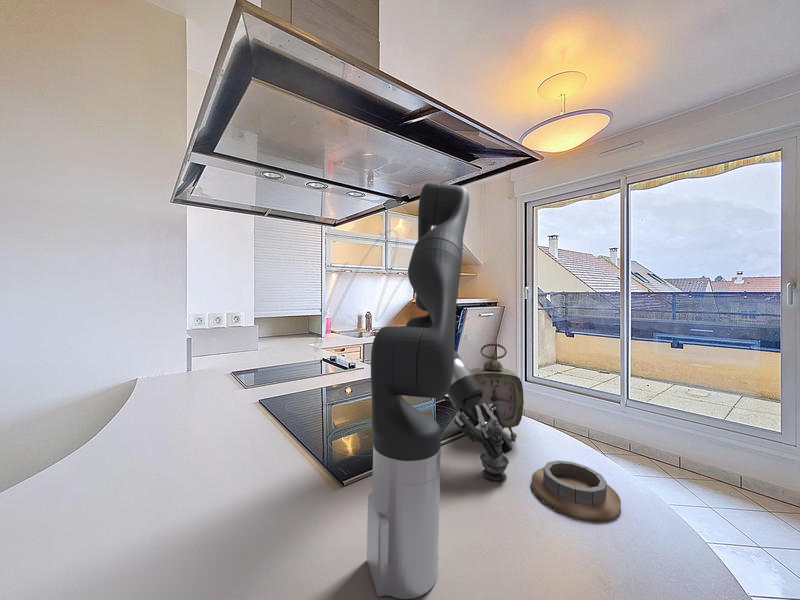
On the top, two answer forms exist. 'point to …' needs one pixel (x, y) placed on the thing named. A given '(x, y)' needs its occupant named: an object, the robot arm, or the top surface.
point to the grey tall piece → (499, 465)
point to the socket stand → (576, 491)
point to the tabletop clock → (501, 389)
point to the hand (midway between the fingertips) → (502, 454)
